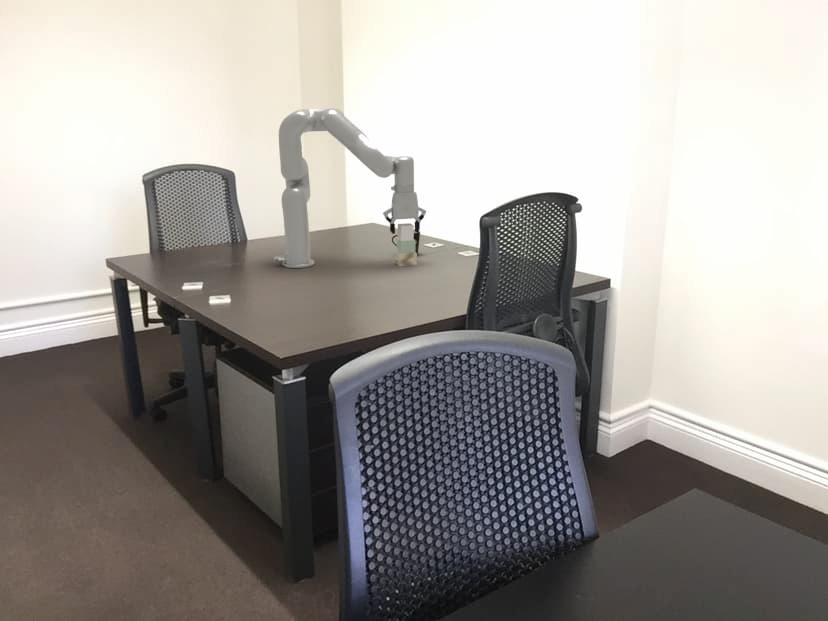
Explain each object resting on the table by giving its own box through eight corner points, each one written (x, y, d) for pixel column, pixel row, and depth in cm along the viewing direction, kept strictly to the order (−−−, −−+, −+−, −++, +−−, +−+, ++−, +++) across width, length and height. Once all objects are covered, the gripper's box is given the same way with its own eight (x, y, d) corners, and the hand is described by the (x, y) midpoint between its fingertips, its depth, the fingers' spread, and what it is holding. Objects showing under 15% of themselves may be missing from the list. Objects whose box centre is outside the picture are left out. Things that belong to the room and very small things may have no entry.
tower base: (399, 266, 287) (399, 254, 286) (395, 262, 293) (395, 250, 292) (416, 265, 289) (416, 253, 287) (412, 261, 295) (411, 249, 294)
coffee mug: (421, 252, 310) (421, 229, 308) (419, 257, 302) (419, 233, 299) (394, 252, 312) (393, 229, 309) (391, 256, 303) (391, 233, 300)
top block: (401, 241, 285) (401, 226, 283) (398, 238, 290) (397, 223, 288) (413, 240, 287) (413, 225, 285) (410, 238, 291) (409, 223, 289)
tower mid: (400, 253, 286) (400, 241, 285) (397, 250, 292) (396, 238, 291) (415, 252, 288) (415, 240, 287) (411, 249, 294) (411, 237, 292)
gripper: (385, 191, 277) (386, 235, 282) (428, 189, 281) (428, 233, 286) (380, 188, 283) (381, 232, 288) (422, 186, 288) (423, 229, 293)
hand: (405, 232), depth 287 cm, fingers open, 9 cm apart
